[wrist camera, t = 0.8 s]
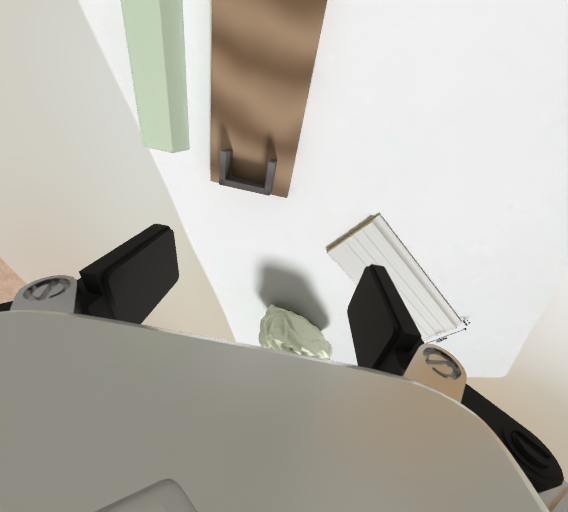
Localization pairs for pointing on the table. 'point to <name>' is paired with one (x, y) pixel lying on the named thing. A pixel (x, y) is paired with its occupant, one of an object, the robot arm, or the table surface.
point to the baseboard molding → (396, 275)
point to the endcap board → (260, 89)
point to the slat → (158, 71)
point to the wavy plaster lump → (292, 334)
